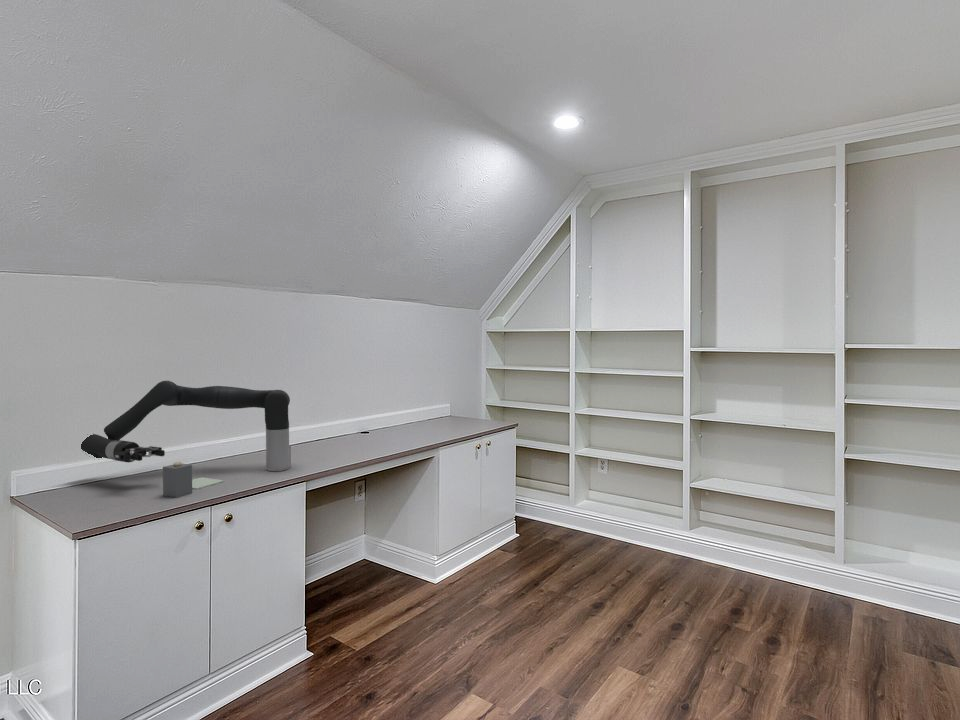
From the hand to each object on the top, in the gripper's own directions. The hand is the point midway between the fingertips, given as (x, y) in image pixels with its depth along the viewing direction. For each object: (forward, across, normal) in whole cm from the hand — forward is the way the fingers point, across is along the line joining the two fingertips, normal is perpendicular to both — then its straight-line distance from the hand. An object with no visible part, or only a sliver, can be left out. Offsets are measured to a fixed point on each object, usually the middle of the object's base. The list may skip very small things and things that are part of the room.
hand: (152, 455), depth 198 cm
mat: (+8, +13, +12) cm, 20 cm away
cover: (+12, 0, +12) cm, 18 cm away
